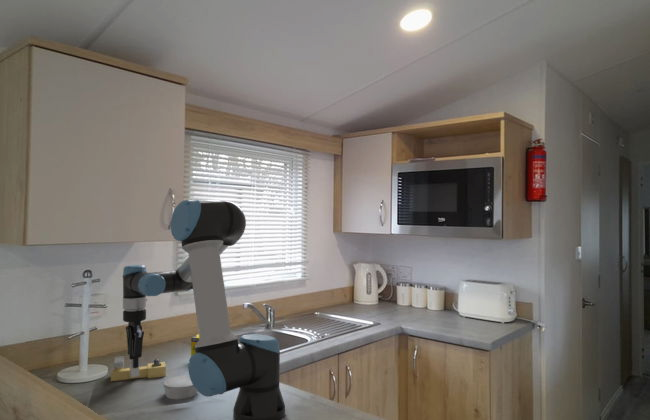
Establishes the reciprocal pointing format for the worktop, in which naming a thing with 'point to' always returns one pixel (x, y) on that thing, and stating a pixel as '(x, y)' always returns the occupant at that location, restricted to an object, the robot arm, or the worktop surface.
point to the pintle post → (156, 362)
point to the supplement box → (194, 343)
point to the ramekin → (179, 387)
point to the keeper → (119, 362)
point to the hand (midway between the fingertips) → (134, 376)
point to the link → (140, 372)
